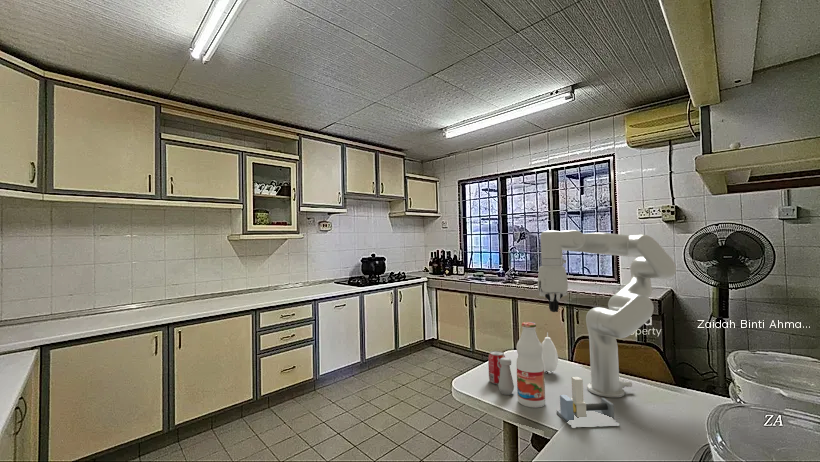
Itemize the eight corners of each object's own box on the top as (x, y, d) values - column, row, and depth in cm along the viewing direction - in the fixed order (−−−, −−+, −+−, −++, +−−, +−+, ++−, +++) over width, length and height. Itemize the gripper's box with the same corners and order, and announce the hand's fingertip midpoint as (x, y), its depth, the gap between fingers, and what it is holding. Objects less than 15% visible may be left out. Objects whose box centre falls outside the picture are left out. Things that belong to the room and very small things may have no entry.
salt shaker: (496, 390, 136) (495, 356, 137) (510, 389, 137) (509, 355, 138) (501, 396, 130) (500, 360, 131) (516, 395, 131) (515, 360, 132)
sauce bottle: (541, 375, 152) (540, 333, 153) (538, 369, 160) (536, 329, 161) (560, 376, 151) (558, 333, 152) (556, 370, 158) (554, 329, 159)
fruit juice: (550, 402, 124) (547, 323, 126) (537, 410, 118) (534, 327, 120) (526, 394, 131) (523, 319, 133) (512, 402, 125) (510, 323, 127)
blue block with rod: (600, 411, 117) (599, 390, 118) (619, 426, 107) (618, 402, 108) (556, 413, 116) (555, 391, 117) (572, 428, 106) (571, 404, 107)
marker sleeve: (579, 411, 114) (578, 375, 115) (586, 417, 110) (585, 380, 110) (570, 411, 114) (569, 376, 114) (577, 417, 110) (575, 380, 110)
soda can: (508, 381, 146) (507, 351, 146) (503, 386, 140) (502, 356, 140) (492, 378, 149) (491, 349, 150) (486, 383, 143) (485, 353, 144)
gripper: (566, 262, 138) (568, 309, 137) (529, 263, 137) (530, 310, 136) (576, 263, 130) (578, 312, 129) (537, 263, 130) (538, 313, 128)
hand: (553, 311), depth 133 cm, fingers closed
